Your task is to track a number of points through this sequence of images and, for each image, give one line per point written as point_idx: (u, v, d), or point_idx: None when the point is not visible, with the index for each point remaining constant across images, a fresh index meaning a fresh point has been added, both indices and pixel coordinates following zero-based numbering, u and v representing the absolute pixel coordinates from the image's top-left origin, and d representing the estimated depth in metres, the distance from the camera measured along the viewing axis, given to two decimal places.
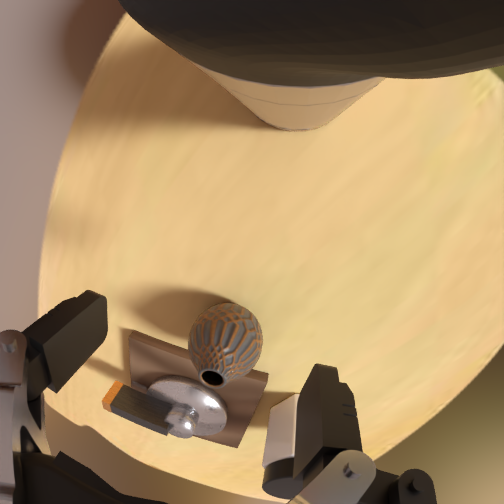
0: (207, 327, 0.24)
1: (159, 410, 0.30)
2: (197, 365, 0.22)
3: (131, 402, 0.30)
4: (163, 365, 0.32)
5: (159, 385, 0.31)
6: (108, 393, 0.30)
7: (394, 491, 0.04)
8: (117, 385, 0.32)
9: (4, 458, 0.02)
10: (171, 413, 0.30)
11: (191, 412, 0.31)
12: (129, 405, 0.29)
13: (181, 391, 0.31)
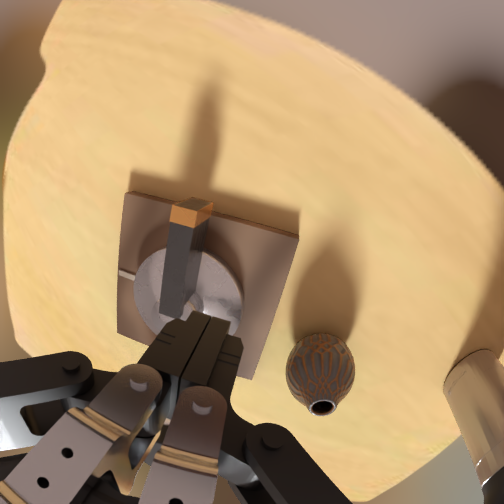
0: (353, 376, 0.24)
1: (191, 288, 0.24)
2: (331, 390, 0.22)
3: (196, 250, 0.22)
4: (256, 279, 0.26)
5: (231, 283, 0.25)
6: (203, 210, 0.21)
7: (248, 455, 0.05)
8: (210, 210, 0.23)
9: (60, 496, 0.02)
10: (194, 308, 0.24)
11: None
12: (193, 252, 0.21)
13: (229, 311, 0.26)
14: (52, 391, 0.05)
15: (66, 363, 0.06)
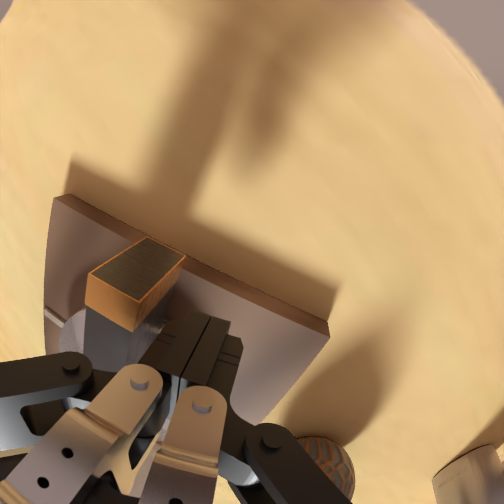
0: None
1: None
2: None
3: (143, 347, 0.11)
4: (245, 378, 0.15)
5: None
6: (159, 286, 0.09)
7: (248, 455, 0.05)
8: (177, 272, 0.11)
9: (60, 497, 0.02)
10: None
11: None
12: (137, 355, 0.10)
13: None
14: (52, 391, 0.05)
15: (66, 363, 0.06)
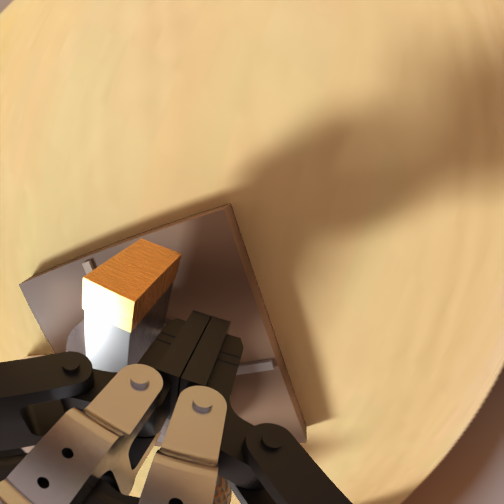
0: None
1: None
2: None
3: (146, 348, 0.11)
4: None
5: None
6: (154, 285, 0.09)
7: (248, 455, 0.05)
8: (173, 271, 0.11)
9: (60, 497, 0.02)
10: None
11: None
12: (139, 357, 0.10)
13: None
14: (52, 391, 0.05)
15: (66, 363, 0.06)
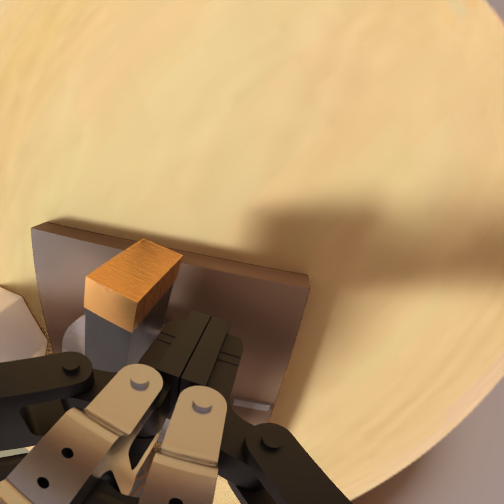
0: None
1: None
2: None
3: (144, 348, 0.11)
4: None
5: None
6: (156, 286, 0.09)
7: (248, 455, 0.05)
8: (174, 272, 0.11)
9: (60, 497, 0.02)
10: None
11: None
12: (138, 356, 0.10)
13: None
14: (52, 391, 0.05)
15: (66, 363, 0.06)
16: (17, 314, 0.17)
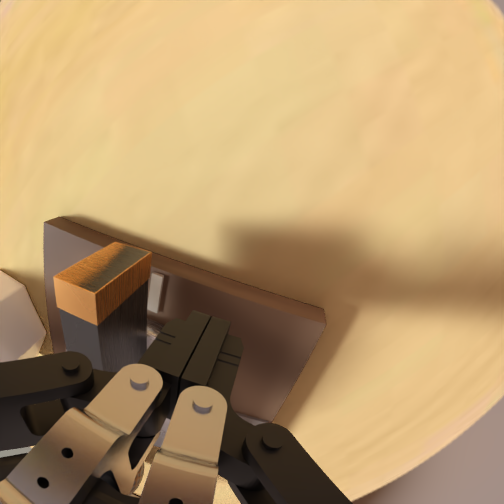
0: None
1: None
2: None
3: (125, 346, 0.11)
4: None
5: None
6: (120, 280, 0.09)
7: (248, 455, 0.05)
8: (144, 268, 0.11)
9: (60, 497, 0.02)
10: None
11: None
12: (118, 354, 0.10)
13: None
14: (52, 391, 0.05)
15: (66, 363, 0.06)
16: (18, 303, 0.17)
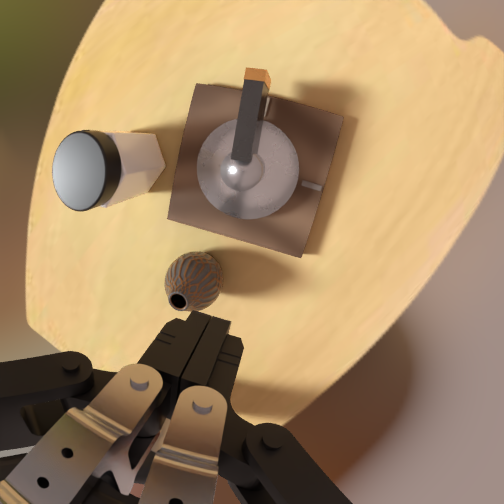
0: None
1: (256, 143, 0.27)
2: (193, 304, 0.31)
3: (262, 107, 0.25)
4: (268, 226, 0.33)
5: (289, 142, 0.28)
6: (268, 75, 0.23)
7: (248, 454, 0.05)
8: (269, 83, 0.25)
9: (60, 496, 0.02)
10: (260, 160, 0.27)
11: (259, 181, 0.29)
12: (261, 106, 0.24)
13: (288, 169, 0.29)
14: (52, 391, 0.05)
15: (66, 363, 0.06)
16: (152, 141, 0.32)
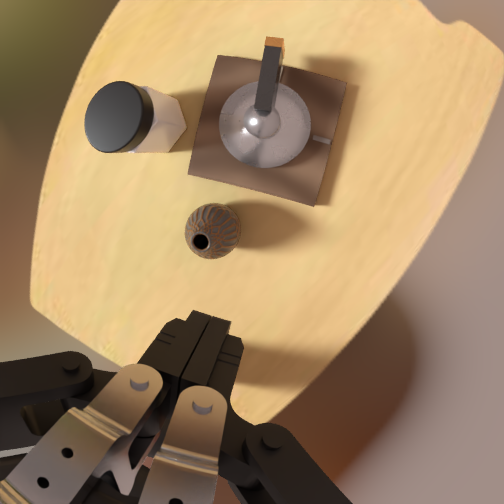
0: None
1: (274, 99, 0.29)
2: (215, 245, 0.32)
3: (279, 69, 0.27)
4: (283, 177, 0.35)
5: (302, 101, 0.30)
6: (283, 44, 0.26)
7: (248, 455, 0.05)
8: (283, 52, 0.28)
9: (60, 496, 0.02)
10: None
11: (276, 133, 0.31)
12: (279, 67, 0.27)
13: (301, 123, 0.31)
14: (52, 391, 0.05)
15: (66, 363, 0.06)
16: (176, 104, 0.34)
